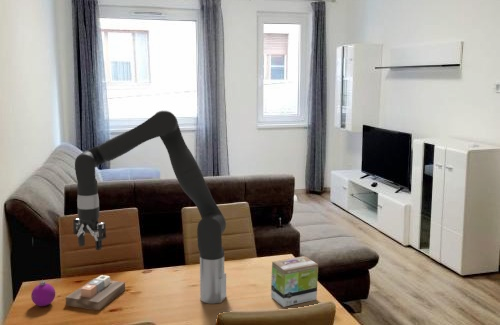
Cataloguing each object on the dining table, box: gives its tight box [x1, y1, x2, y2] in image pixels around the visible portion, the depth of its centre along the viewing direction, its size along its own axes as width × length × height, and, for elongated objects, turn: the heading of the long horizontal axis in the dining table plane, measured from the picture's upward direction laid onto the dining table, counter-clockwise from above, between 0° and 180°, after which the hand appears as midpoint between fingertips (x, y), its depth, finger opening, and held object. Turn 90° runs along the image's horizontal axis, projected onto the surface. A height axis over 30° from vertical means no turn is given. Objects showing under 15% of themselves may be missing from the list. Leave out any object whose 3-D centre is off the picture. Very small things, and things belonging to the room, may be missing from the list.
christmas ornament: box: [30, 279, 56, 307], centre depth 174 cm, size 8×8×10 cm
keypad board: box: [65, 277, 126, 311], centre depth 181 cm, size 14×18×3 cm
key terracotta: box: [81, 284, 97, 298], centre depth 176 cm, size 4×4×3 cm
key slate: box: [87, 278, 104, 293], centre depth 180 cm, size 4×4×3 cm
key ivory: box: [95, 274, 111, 288], centre depth 185 cm, size 4×4×3 cm
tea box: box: [270, 255, 319, 308], centre depth 179 cm, size 15×10×15 cm
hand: (90, 247), depth 176 cm, fingers open, 8 cm apart
